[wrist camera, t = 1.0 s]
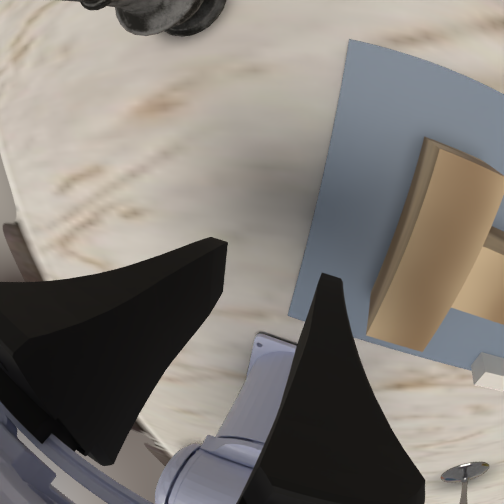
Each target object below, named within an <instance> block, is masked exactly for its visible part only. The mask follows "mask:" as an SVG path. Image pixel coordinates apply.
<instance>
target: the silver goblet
mask: <svg viewBox="0 0 504 504" xmlns="http://www.w3.org/2000/svg"><path fill="white" fill-rule="evenodd" d="M488 469H489V464H487V463H485V462H473V463H467V464H463V465H460V466H457V467H454V468H452V469H449V470H447V471H446V472H444V473H443V474H442V475H441V480H442V481H444V482H448V483H457V482H462V492H461V499H460V504H467V484H468V480H471V479H474V478H476V477H479V476H481V475H482V474H484V473H485V472H486V471H487V470H488Z"/></svg>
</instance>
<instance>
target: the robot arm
mask: <svg viewBox="0 0 504 504" xmlns="http://www.w3.org/2000/svg"><path fill="white" fill-rule="evenodd" d="M227 245H228V242H225V241H222V240H219V239H216V238H213V237H209V238H206V239H202V240H200V241H197V242H194V243H191V244H189V245H186V246H183V247H181V248H178V249H175V250H173V251H170V252H167V253H165V254H162V255H159V256H156V257H153V258H150V259H147V260H144V261H141V262H138V263H135V264H132V265H129V266H126V267H122V268H119V269H115V270H111V271H107V272H103V273H98V274H94V275H88V276H82V277H76V278H70V279H63V280H54V281H42V282H0V504H75V503H74V502H73V501H71V500H70V499H69V498H67V497H66V496H65V495H64V494H62V493H61V492H60V491H59V490H57V489H56V488H55V487H54V486H52V485H51V484H50V483H51V482H52V481H53V480H54V478H55V477H56V474H55V473H54V472H53V471H52V470H51V469H50V468H49V467H48V466H47V465H46V464H45V463H44V462H42V461H41V460H40V459H39V458H38V457H37V456H36V455H35V454H34V453H33V452H32V451H30V450H29V449H28V448H27V447H26V446H25V445H24V444H23V443H22V442H21V441H20V440H19V439H18V438H17V428H18V429H19V430H20V431H21V432H22V433H23V434H24V435H25V436H26V437H27V438H28V439H29V440H30V441H31V442H32V443H33V444H34V445H35V446H36V447H37V448H38V449H40V451H42V452H43V453H44V454H45V455H46V456H47V457H48V458H49V459H51V460H52V461H53V462H54V463H55V464H56V465H58V466H59V467H60V468H61V469H62V470H63V471H65V472H66V473H67V474H68V475H70V476H71V477H72V478H73V479H75V480H76V481H78V482H79V483H80V484H81V485H83V486H84V487H86V488H87V489H88V490H89V491H91V492H92V493H93V494H95V495H96V496H98V497H99V498H101V499H102V500H104V501H105V502H107V503H108V504H153V503H151V502H150V501H148V500H146V499H144V498H142V497H141V496H139V495H137V494H136V493H134V492H132V491H131V490H129V489H127V488H126V487H124V486H123V485H121V484H119V483H118V482H116V481H115V480H113V479H112V478H110V477H109V476H107V475H106V474H104V473H103V472H101V471H100V470H98V469H97V468H96V467H94V466H93V465H91V464H90V463H89V462H87V461H86V460H85V459H83V458H82V457H81V456H79V455H78V454H76V453H75V450H78V451H79V452H80V453H81V454H83V455H84V456H87V455H88V456H89V457H91V458H92V459H94V460H95V461H96V462H98V463H99V464H100V465H102V466H108V465H112V464H114V462H115V460H116V458H117V455H118V453H119V451H120V449H121V447H122V445H123V443H124V441H125V439H126V437H127V435H128V433H129V431H130V430H131V428H132V426H133V424H134V422H135V420H136V419H137V417H138V415H139V413H140V411H141V410H142V408H143V406H144V405H145V403H146V401H147V399H148V398H149V396H150V394H151V393H152V391H153V389H154V388H155V386H156V385H157V383H158V381H159V380H160V378H161V377H162V375H163V374H164V372H165V370H166V369H167V368H168V366H169V365H170V364H171V362H172V361H173V360H174V358H175V357H176V356H177V355H178V353H179V352H180V351H181V350H182V348H183V347H184V346H185V345H186V343H187V342H188V341H189V340H190V339H191V337H192V336H193V335H194V334H195V332H196V331H197V330H198V329H199V327H200V326H201V325H202V324H203V322H204V321H205V320H206V318H207V317H208V316H209V314H210V313H211V311H212V310H213V308H214V306H215V305H216V303H217V301H218V299H219V298H220V296H221V294H222V292H223V285H224V274H225V265H226V255H227ZM260 343H261V344H260ZM16 427H17V428H16ZM424 502H425V479H424V478H423V476H422V475H421V473H420V472H419V470H418V469H417V468H416V466H415V465H414V463H413V462H412V460H411V459H410V457H409V456H408V455H407V453H406V452H405V450H404V449H403V447H402V446H401V444H400V442H399V441H398V439H397V437H396V436H395V434H394V432H393V431H392V429H391V427H390V425H389V423H388V421H387V419H386V417H385V415H384V413H383V411H382V409H381V407H380V405H379V404H378V402H377V400H376V398H375V395H374V393H373V391H372V388H371V386H370V384H369V381H368V379H367V376H366V374H365V371H364V369H363V366H362V363H361V360H360V357H359V354H358V351H357V348H356V345H355V341H354V338H353V334H352V331H351V327H350V322H349V318H348V314H347V309H346V304H345V298H344V289H343V281H342V279H341V278H338V277H335V276H332V275H329V274H326V273H321V276H320V279H319V281H318V284H317V287H316V290H315V294H314V297H313V300H312V303H311V306H310V309H309V312H308V315H307V318H306V321H305V324H304V327H303V330H302V333H301V335H300V338H299V341H298V344H297V346H296V345H293V344H290V343H287V342H284V341H282V340H279V339H276V338H273V337H270V336H267V335H265V334H261V333H260V334H257V335H256V337H255V340H254V344H253V349H252V354H251V359H250V363H249V368H248V373H247V377H246V381H245V383H244V385H243V387H242V388H241V390H240V392H239V394H238V396H237V398H236V400H235V402H234V404H233V405H232V407H231V409H230V411H229V413H228V415H227V416H226V418H225V420H224V422H223V424H222V426H221V427H220V429H219V431H218V433H217V435H216V436H215V437H214V436H211V435H207V437H206V439H205V440H204V442H203V444H202V445H200V444H198V443H193V444H190V445H188V446H187V447H184V448H182V449H180V450H179V451H178V452H177V453H176V454H175V455H174V456H173V457H172V458H171V459H170V461H169V462H168V464H167V465H166V467H165V469H164V470H163V472H162V474H161V476H160V479H159V481H158V484H157V487H156V491H155V504H424Z"/></svg>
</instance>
